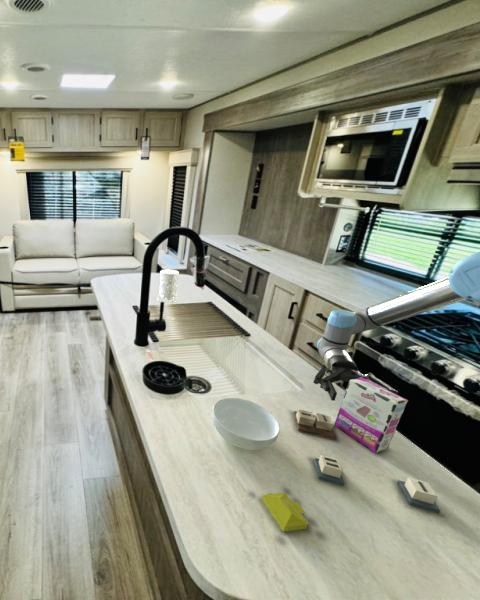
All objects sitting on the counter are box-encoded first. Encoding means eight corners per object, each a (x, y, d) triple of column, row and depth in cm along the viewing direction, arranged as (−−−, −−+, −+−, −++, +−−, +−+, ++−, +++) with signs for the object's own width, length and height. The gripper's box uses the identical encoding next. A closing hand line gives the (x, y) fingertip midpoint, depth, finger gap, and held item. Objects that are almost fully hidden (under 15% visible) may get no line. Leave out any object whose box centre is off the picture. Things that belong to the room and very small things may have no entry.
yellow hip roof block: (251, 494, 73) (254, 486, 72) (288, 490, 74) (290, 482, 73) (281, 540, 64) (284, 531, 63) (322, 535, 65) (326, 526, 64)
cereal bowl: (207, 447, 86) (210, 427, 84) (211, 409, 100) (214, 391, 98) (278, 469, 80) (284, 448, 77) (271, 425, 94) (276, 406, 91)
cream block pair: (327, 421, 95) (330, 411, 94) (335, 439, 88) (339, 429, 87) (293, 413, 98) (295, 403, 97) (298, 430, 91) (301, 421, 90)
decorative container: (167, 295, 199) (169, 268, 193) (181, 300, 190) (183, 272, 183) (153, 298, 194) (155, 270, 188) (166, 304, 185) (169, 275, 178)
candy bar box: (388, 449, 85) (410, 400, 79) (375, 454, 83) (396, 404, 77) (344, 421, 95) (361, 375, 89) (332, 425, 93) (348, 379, 87)
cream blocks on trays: (424, 490, 74) (430, 479, 72) (438, 513, 68) (445, 502, 67) (312, 460, 82) (316, 449, 81) (318, 479, 77) (322, 468, 75)
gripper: (383, 381, 104) (416, 424, 86) (295, 366, 113) (308, 402, 95) (390, 362, 101) (426, 403, 83) (300, 348, 111) (314, 381, 93)
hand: (363, 402), depth 89 cm, fingers open, 13 cm apart
